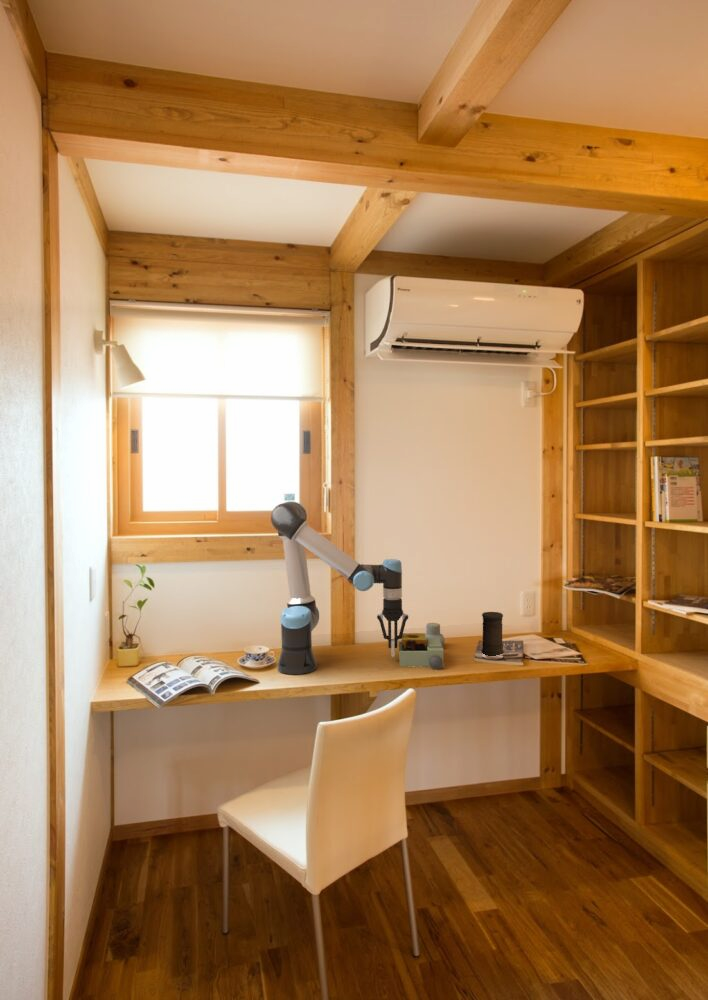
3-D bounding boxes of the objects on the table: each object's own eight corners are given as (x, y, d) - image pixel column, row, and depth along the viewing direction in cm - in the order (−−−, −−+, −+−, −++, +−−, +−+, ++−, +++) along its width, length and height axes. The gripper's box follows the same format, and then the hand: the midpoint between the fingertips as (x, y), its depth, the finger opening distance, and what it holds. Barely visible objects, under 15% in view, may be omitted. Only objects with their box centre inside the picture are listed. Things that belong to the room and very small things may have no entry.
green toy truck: (399, 669, 251) (399, 649, 250) (398, 652, 273) (398, 634, 273) (443, 669, 250) (443, 649, 249) (439, 652, 272) (439, 634, 272)
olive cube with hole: (427, 664, 257) (427, 639, 256) (401, 664, 257) (401, 639, 257) (426, 656, 267) (425, 632, 266) (401, 656, 268) (401, 632, 267)
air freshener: (445, 650, 276) (445, 627, 276) (426, 651, 275) (426, 627, 275) (439, 643, 287) (439, 620, 286) (421, 644, 286) (420, 621, 285)
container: (507, 656, 266) (507, 613, 265) (497, 661, 259) (497, 617, 258) (487, 652, 272) (488, 610, 271) (477, 657, 265) (477, 614, 264)
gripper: (376, 600, 257) (376, 658, 259) (408, 600, 257) (409, 658, 258) (376, 596, 265) (377, 653, 266) (408, 596, 264) (408, 653, 265)
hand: (392, 655), depth 262 cm, fingers closed
